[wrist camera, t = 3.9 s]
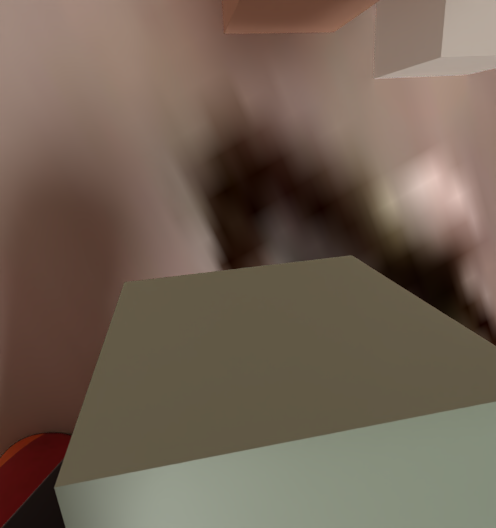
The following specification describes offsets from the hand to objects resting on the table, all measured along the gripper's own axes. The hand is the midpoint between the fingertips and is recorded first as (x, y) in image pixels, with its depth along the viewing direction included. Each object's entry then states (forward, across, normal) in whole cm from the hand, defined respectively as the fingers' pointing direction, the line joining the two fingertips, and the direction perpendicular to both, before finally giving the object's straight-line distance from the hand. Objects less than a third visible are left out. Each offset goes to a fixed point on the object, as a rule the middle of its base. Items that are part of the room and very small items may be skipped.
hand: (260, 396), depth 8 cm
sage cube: (+1, 0, 0) cm, 1 cm away
